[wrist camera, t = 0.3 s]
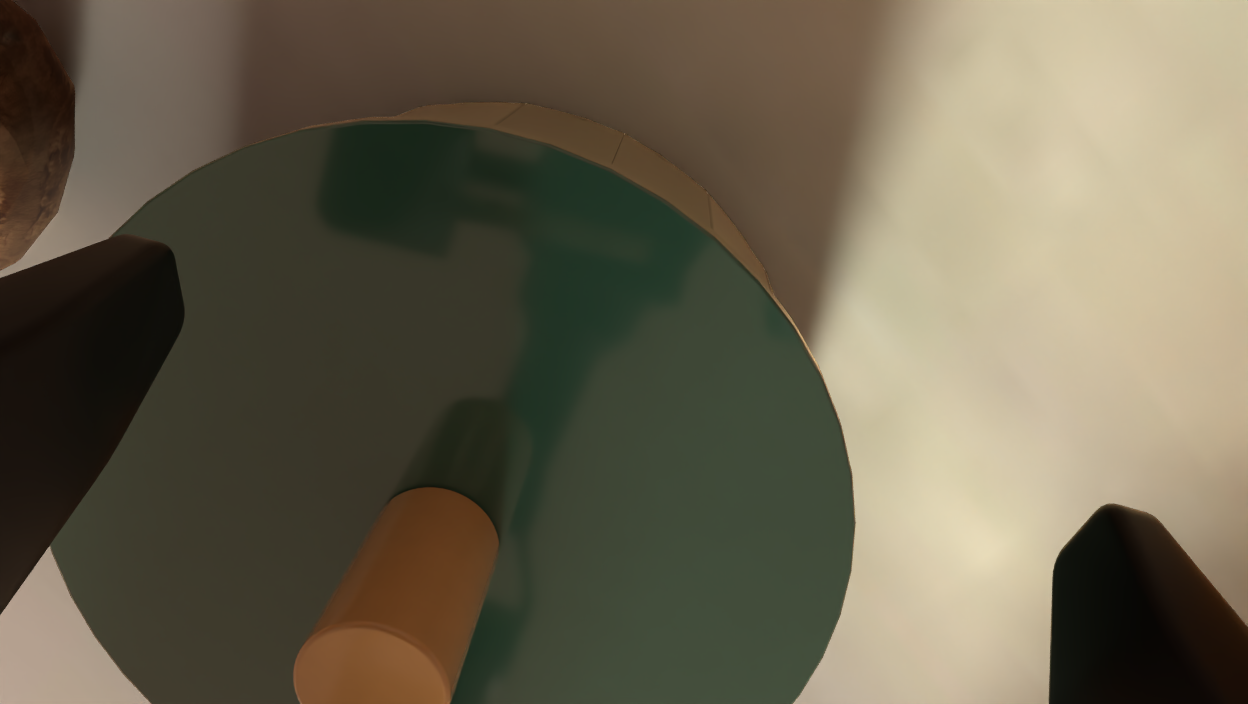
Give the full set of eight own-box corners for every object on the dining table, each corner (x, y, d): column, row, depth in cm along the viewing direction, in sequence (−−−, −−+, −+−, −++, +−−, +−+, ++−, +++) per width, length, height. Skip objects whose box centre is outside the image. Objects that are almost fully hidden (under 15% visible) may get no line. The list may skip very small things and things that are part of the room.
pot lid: (928, 716, 20) (1005, 949, 15) (288, 858, 22) (182, 1090, 18) (702, -29, 14) (709, -36, 10) (-91, 274, 17) (-382, 384, 13)
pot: (853, 549, 25) (905, 725, 19) (373, 672, 28) (287, 860, 22) (683, 6, 20) (682, 15, 14) (122, 218, 23) (-78, 301, 17)
